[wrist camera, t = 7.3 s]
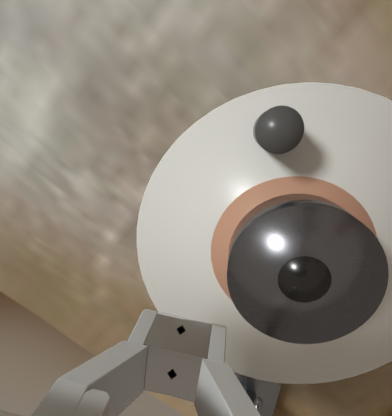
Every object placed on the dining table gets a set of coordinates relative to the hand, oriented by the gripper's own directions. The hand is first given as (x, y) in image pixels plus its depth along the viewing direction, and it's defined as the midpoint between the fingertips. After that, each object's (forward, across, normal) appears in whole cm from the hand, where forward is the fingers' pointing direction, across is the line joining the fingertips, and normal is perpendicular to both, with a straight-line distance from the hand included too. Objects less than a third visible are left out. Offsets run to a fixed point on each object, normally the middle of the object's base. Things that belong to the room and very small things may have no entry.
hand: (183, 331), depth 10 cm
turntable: (+13, -6, +1) cm, 14 cm away
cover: (+10, -6, +1) cm, 12 cm away
